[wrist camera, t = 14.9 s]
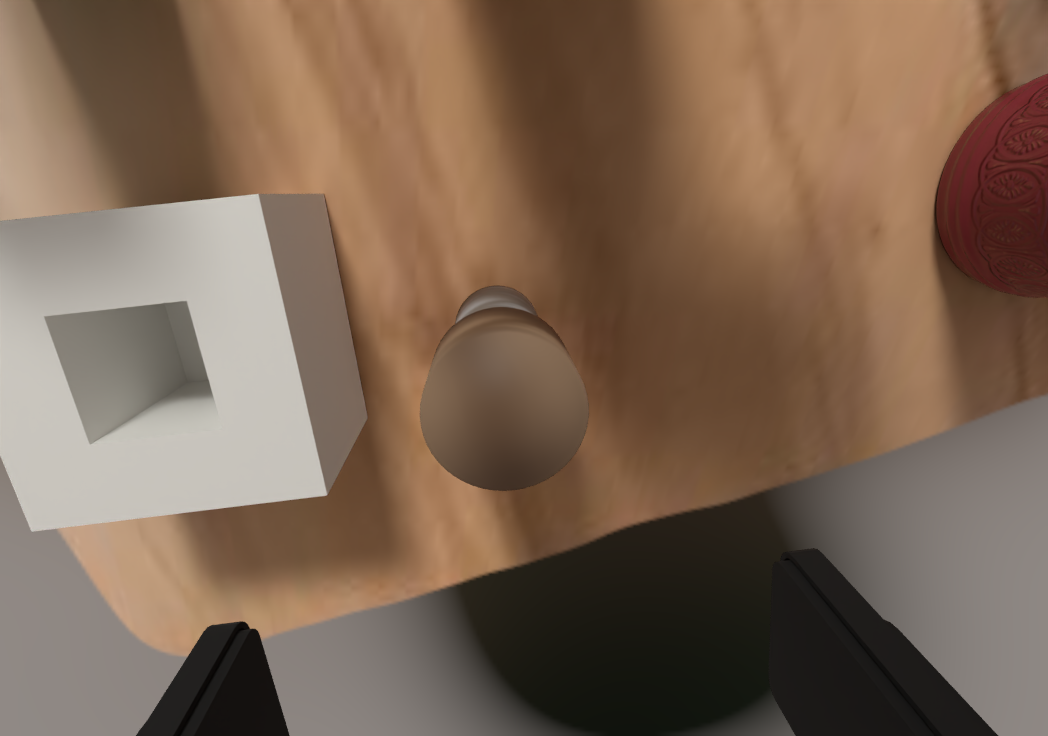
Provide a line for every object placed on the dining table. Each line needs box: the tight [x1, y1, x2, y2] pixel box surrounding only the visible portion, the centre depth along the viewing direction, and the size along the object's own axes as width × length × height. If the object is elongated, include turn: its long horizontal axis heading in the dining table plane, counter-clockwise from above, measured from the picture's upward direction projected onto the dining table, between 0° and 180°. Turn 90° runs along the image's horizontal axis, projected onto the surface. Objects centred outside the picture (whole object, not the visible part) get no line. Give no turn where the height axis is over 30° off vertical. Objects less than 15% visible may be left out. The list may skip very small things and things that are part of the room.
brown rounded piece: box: [420, 286, 589, 491], centre depth 29 cm, size 6×6×15 cm
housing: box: [0, 194, 368, 531], centre depth 30 cm, size 14×14×10 cm
